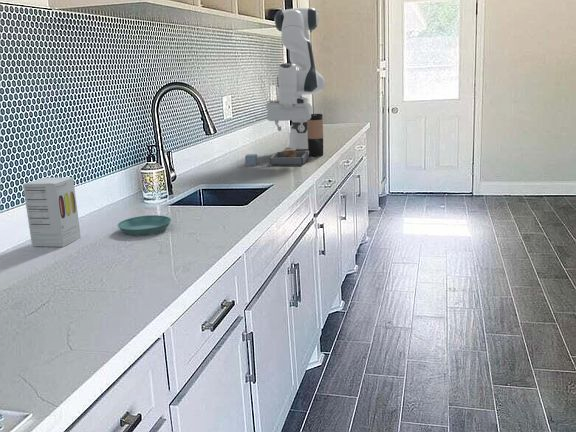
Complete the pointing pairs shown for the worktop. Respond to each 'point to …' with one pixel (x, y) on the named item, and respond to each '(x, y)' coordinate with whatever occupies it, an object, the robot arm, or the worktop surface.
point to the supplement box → (52, 211)
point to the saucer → (144, 225)
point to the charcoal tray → (288, 159)
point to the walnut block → (290, 153)
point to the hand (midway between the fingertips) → (289, 130)
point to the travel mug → (315, 135)
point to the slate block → (251, 159)
